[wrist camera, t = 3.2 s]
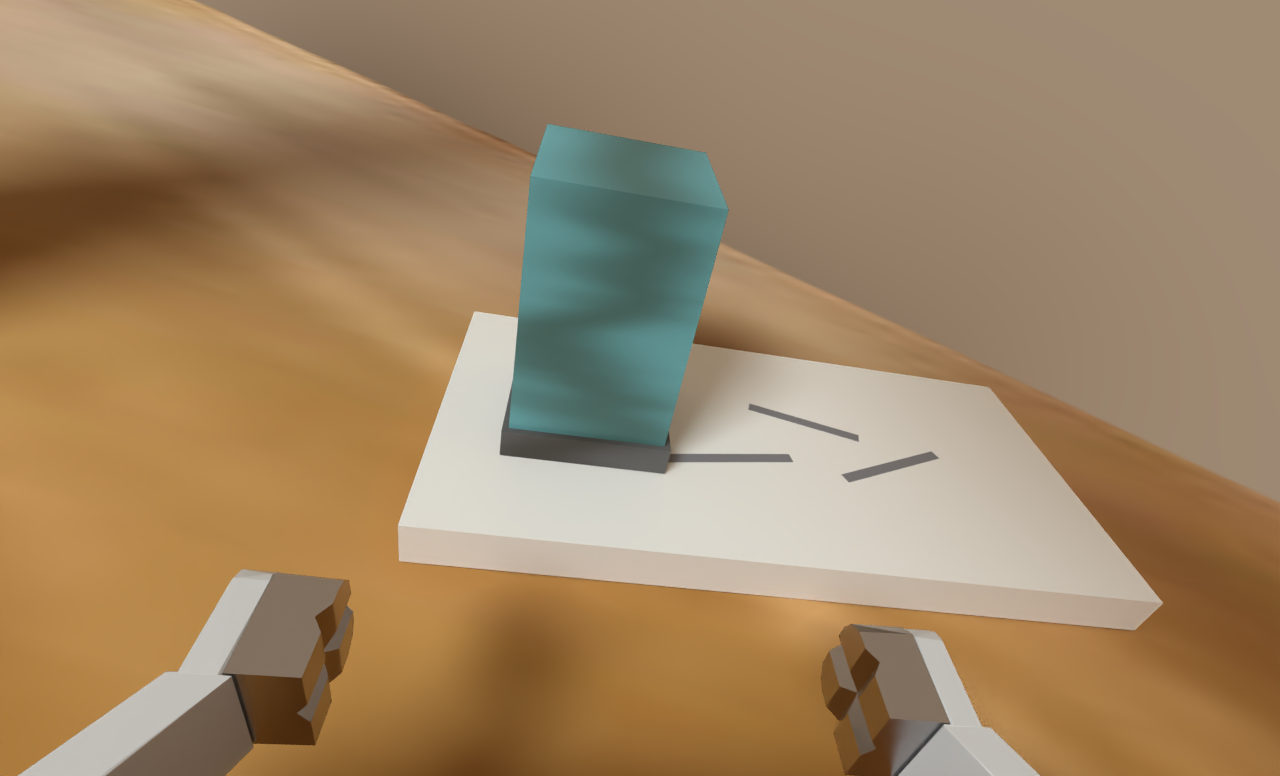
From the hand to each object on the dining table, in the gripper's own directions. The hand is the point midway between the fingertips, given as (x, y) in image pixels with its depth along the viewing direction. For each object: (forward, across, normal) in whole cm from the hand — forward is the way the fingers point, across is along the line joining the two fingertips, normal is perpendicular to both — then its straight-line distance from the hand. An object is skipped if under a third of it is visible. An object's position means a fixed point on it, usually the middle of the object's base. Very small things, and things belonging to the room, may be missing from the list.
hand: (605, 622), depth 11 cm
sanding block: (+12, 0, +5) cm, 13 cm away
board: (+12, -7, +7) cm, 15 cm away
